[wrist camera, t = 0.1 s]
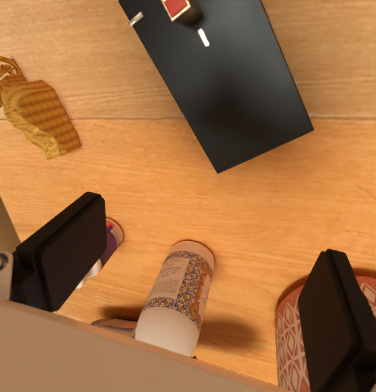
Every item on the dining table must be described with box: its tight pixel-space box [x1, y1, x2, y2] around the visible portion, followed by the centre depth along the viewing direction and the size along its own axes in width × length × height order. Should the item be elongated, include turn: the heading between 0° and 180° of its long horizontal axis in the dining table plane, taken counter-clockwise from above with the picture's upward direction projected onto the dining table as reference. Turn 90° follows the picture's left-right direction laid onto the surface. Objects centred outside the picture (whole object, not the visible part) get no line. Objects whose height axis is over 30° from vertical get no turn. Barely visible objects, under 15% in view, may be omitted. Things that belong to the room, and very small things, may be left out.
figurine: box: [0, 56, 80, 160], centre depth 29 cm, size 4×12×7 cm, turn 21°
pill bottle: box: [76, 218, 123, 289], centre depth 36 cm, size 5×5×10 cm
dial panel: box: [119, 0, 314, 174], centre depth 23 cm, size 21×10×3 cm, turn 32°
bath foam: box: [135, 241, 214, 357], centre depth 30 cm, size 7×7×20 cm
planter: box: [275, 276, 376, 392], centre depth 30 cm, size 19×19×15 cm
